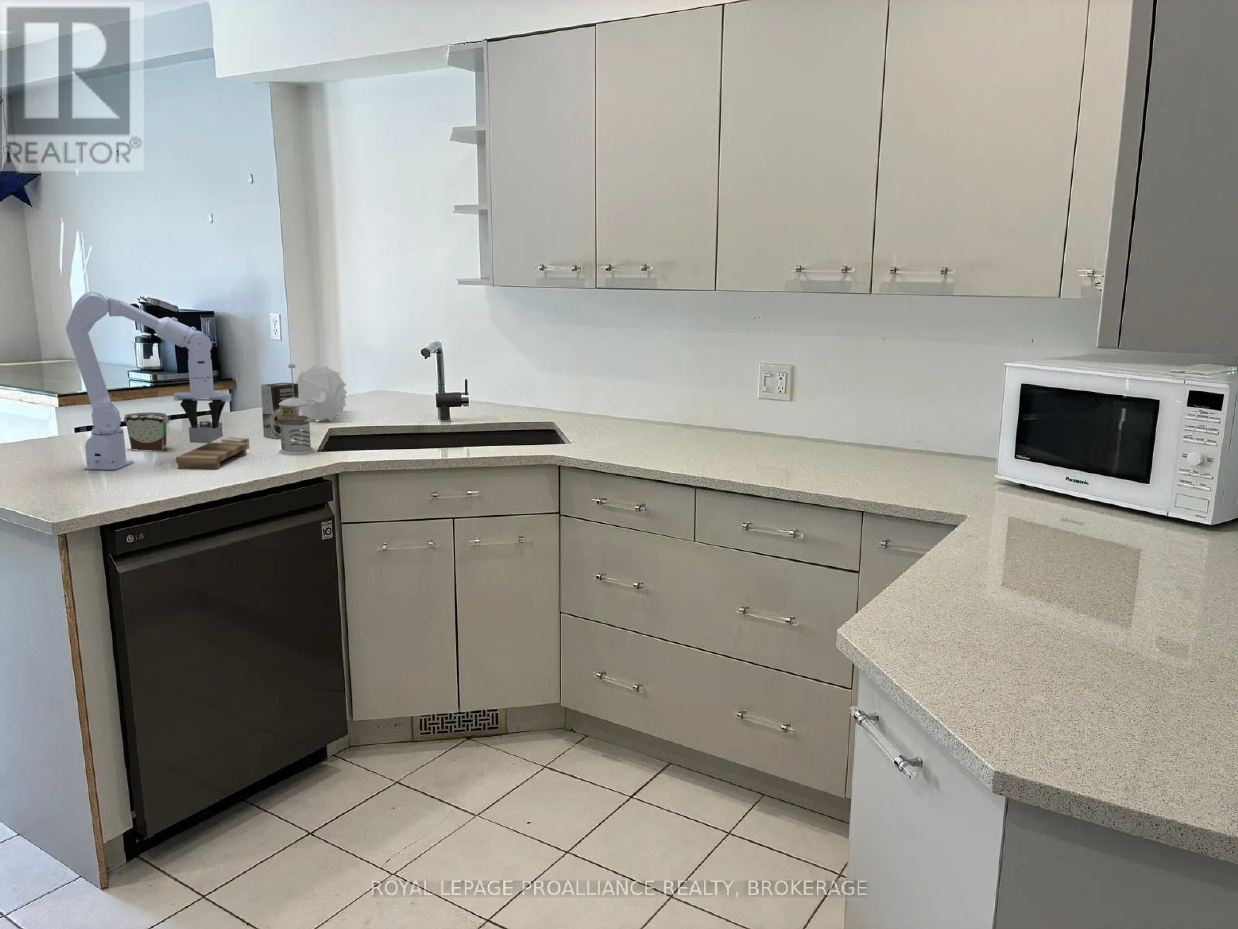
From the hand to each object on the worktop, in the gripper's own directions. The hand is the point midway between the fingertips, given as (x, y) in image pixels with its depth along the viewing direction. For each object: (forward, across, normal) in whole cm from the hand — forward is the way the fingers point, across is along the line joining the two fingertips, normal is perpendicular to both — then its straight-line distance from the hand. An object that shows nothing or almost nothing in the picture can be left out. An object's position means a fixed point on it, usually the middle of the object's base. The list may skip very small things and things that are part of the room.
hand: (205, 427), depth 243 cm
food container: (+9, +20, -11) cm, 24 cm away
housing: (+3, 0, 0) cm, 3 cm away
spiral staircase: (+9, -10, -67) cm, 69 cm away
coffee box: (+9, -9, -33) cm, 35 cm away
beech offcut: (+9, -2, -13) cm, 16 cm away
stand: (+8, -3, +4) cm, 10 cm away
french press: (+9, -20, -10) cm, 24 cm away
